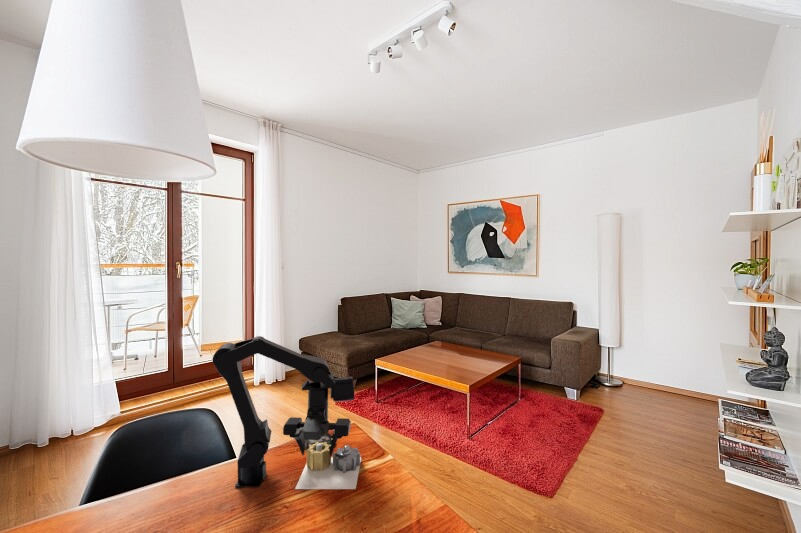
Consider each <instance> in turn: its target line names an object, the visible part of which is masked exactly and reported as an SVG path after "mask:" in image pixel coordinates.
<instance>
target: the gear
mask: <svg viewBox="0 0 801 533" xmlns="http://www.w3.org/2000/svg"><path fill="white" fill-rule="evenodd" d="M350 446H351V445H348V444H346V445H343V447H338V448H337V449H336V451H333V453H332V457H333V466H334V470H335V471H337V470H339V471H343V473H346V471H351V470H353V471H355V470H356V467H357V466H360V467H361V463H360V457H361V452H359V447H352V446H351V447H350Z"/></svg>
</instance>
